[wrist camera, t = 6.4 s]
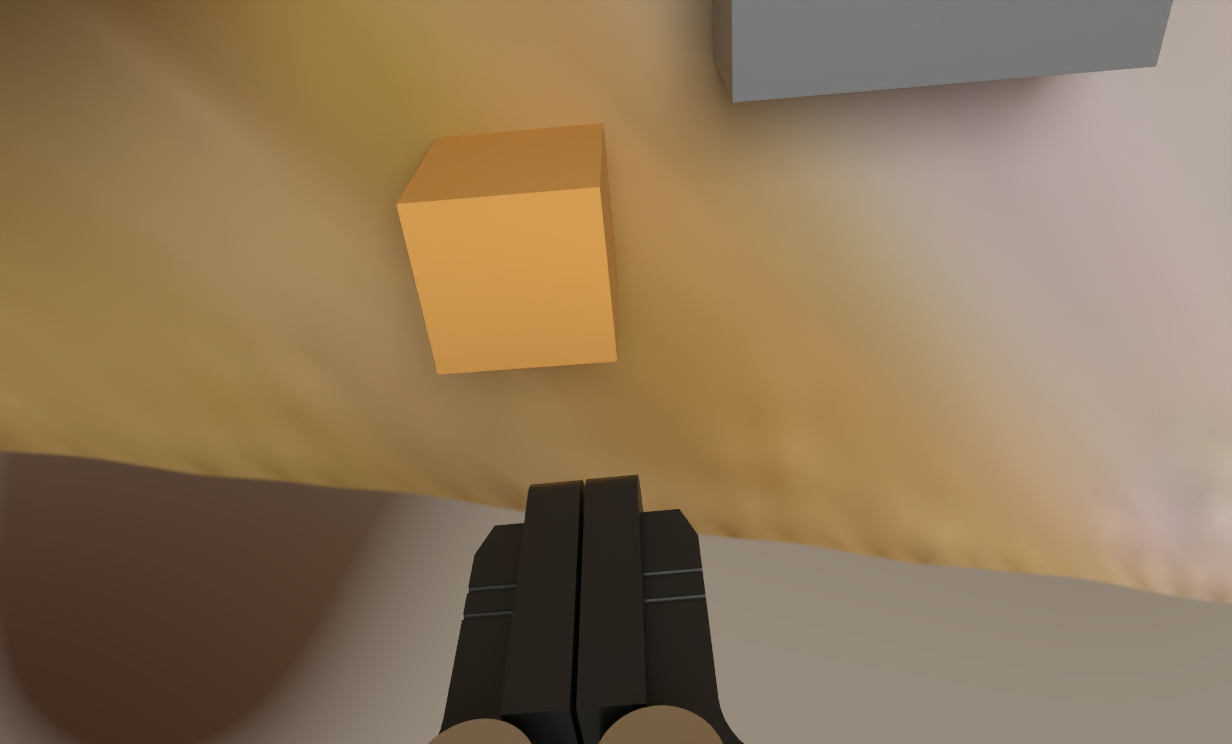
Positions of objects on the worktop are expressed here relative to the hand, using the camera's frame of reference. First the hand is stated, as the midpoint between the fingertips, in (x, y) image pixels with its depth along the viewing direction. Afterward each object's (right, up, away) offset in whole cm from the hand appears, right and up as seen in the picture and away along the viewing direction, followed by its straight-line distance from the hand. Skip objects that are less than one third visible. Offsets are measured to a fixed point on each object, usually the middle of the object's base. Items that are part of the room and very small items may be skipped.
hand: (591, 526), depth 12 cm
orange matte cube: (-3, +8, +17) cm, 19 cm away
